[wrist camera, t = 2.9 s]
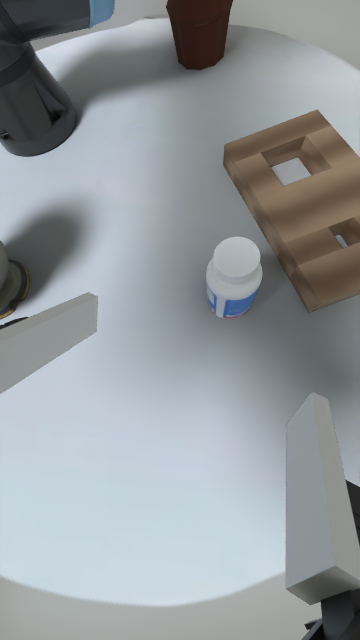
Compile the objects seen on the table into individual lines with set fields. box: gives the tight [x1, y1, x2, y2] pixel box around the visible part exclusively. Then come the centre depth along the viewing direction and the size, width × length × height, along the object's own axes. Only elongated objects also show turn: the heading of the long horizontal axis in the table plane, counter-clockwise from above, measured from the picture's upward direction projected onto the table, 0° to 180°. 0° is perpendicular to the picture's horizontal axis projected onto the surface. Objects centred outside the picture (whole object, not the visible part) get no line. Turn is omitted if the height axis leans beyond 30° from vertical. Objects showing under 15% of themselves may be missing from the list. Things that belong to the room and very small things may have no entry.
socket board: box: [223, 110, 360, 312], centre depth 29 cm, size 26×14×3 cm, turn 19°
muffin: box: [166, 0, 233, 70], centre depth 39 cm, size 12×11×10 cm
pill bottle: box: [206, 237, 263, 319], centre depth 24 cm, size 6×5×10 cm
